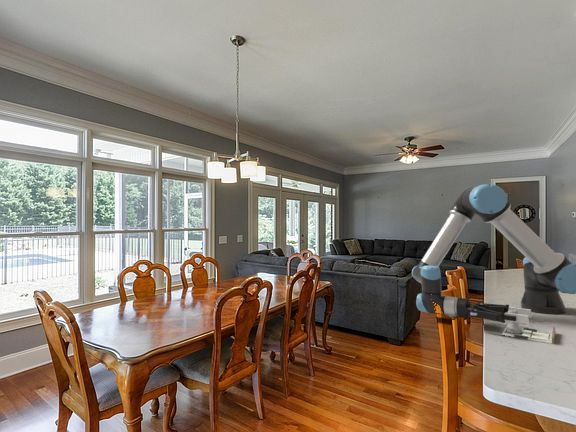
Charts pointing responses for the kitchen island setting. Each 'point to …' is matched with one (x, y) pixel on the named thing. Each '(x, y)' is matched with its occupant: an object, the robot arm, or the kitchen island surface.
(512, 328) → the rook chess piece
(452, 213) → the robot arm
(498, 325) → the kitchen island surface
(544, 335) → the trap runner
